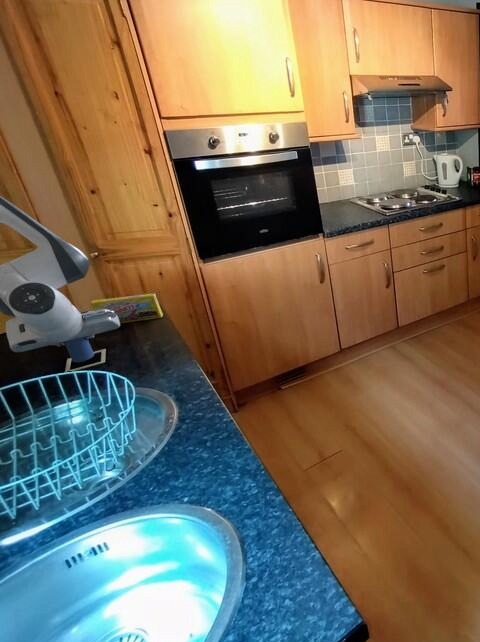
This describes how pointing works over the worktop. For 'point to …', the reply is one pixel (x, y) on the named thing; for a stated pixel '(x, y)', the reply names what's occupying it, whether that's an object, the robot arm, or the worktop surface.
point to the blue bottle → (79, 349)
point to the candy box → (131, 307)
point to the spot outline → (87, 365)
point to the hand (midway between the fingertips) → (76, 339)
